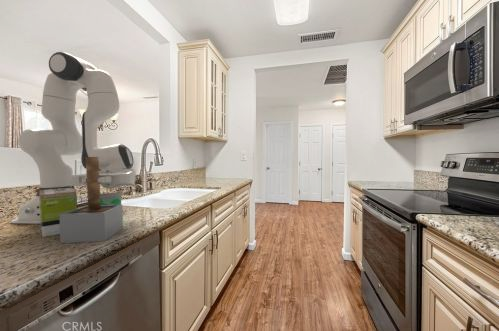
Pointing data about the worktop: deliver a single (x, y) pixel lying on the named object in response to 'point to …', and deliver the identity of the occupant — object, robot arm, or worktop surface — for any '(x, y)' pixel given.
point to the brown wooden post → (93, 186)
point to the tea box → (55, 208)
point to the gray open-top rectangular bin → (90, 224)
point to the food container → (111, 198)
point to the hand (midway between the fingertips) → (91, 180)
